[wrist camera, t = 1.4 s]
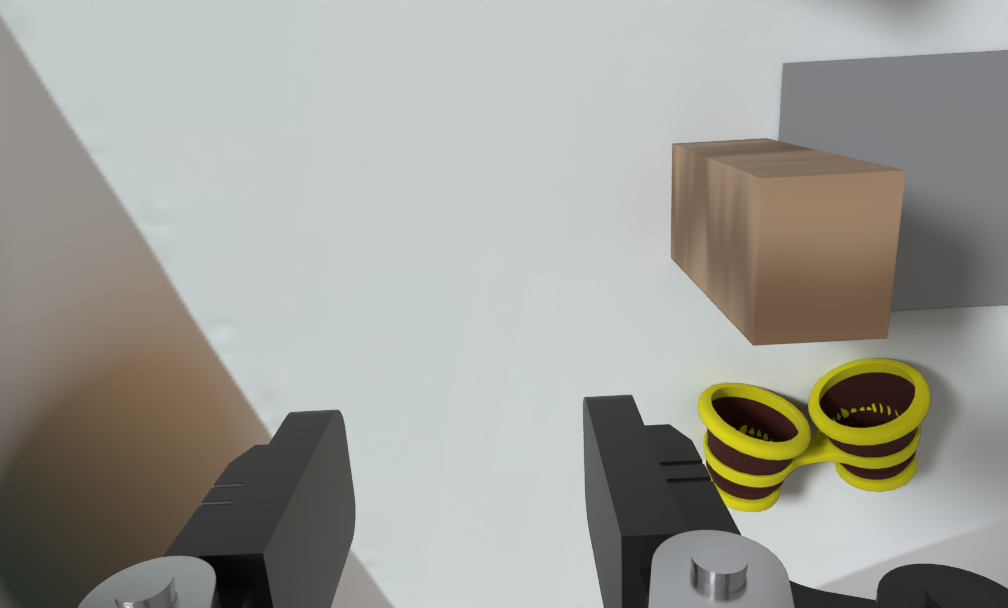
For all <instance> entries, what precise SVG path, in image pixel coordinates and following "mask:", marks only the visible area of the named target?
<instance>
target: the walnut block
mask: <svg viewBox="0 0 1008 608" xmlns="http://www.w3.org/2000/svg"><path fill="white" fill-rule="evenodd" d="M905 174H906V170H902V169H898V168H894V167H889V166H885V165H881V164H876V163H872V162H867V161H863V160H859V159H854V158H850V157H846V156H841V155H837V154H833V153H828V152H824V151H819V150H815V149H811V148H806V147H802V146H798V145H793V144H789V143H785V142H780V141H776V140H771V139H767V138H765V139H747V140H730V141H712V142H695V143H677V144H672V208H671V258H672V259H673V261H674V262H675V263H676V264H677V265H678V266H679V267H680V268H681V269H682V270H683V271H684V272H685V273H686V274H687V275H688V277H689V278H690V279H691V280H692V281H693V282H694V283H695V284H696V285H697V286H698V287H699V288H700V289H701V290H702V291H703V293H704V294H705V295H706V296H707V297H708V298H709V299H710V300H711V301H712V302H713V303H714V304H715V305H716V306H717V307H718V309H719V310H720V311H721V312H722V313H723V314H724V315H725V316H726V317H727V318H728V319H729V320H730V321H731V322H732V324H733V325H734V326H735V327H736V328H737V329H738V330H739V331H740V332H741V333H742V334H743V335H744V336H745V337H746V338H747V340H748V341H749V342H750V343H751V344H752V345H772V344H791V343H809V342H828V341H847V340H866V339H885V338H887V333H888V325H889V316H890V307H891V298H892V289H893V280H894V272H895V263H896V254H897V245H898V236H899V227H900V219H901V210H902V201H903V192H904V183H905Z"/></svg>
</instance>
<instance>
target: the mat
mask: <svg viewBox="0 0 1008 608" xmlns="http://www.w3.org/2000/svg"><path fill="white" fill-rule="evenodd" d="M779 141H780V142H785V143H789V144H793V145H798V146H802V147H806V148H811V149H815V150H819V151H824V152H828V153H833V154H837V155H841V156H846V157H850V158H854V159H859V160H863V161H867V162H872V163H876V164H881V165H885V166H889V167H894V168H898V169H902V170H906V174H905V183H904V192H903V201H902V210H901V219H900V227H899V236H898V245H897V254H896V263H895V272H894V280H893V289H892V298H891V307H890V311H896V310H915V309H933V308H952V307H971V306H989V305H1008V50H1003V51H986V52H969V53H952V54H935V55H918V56H901V57H884V58H867V59H850V60H833V61H816V62H799V63H783V73H782V90H781V107H780V124H779Z"/></svg>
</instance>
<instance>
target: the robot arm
mask: <svg viewBox="0 0 1008 608" xmlns="http://www.w3.org/2000/svg"><path fill="white" fill-rule="evenodd" d="M583 430H584V470H585V498H586V510H587V520H588V527H589V533H590V538H591V543H592V548H593V553H594V559H595V564H596V569H597V574H598V580H599V585H600V590H601V595H602V600H603V606H604V608H1008V589H1007V588H1005V587H1004V586H1002V585H1000V584H998V583H997V582H994V581H992V580H990V579H988V578H986V577H983V576H981V575H978V574H975V573H973V572H970V571H966V570H963V569H959V568H955V567H950V566H945V565H937V564H912V565H905V566H901V567H898V568H896V569H894V570H891V571H889V572H888V573H887V574H886V575H884V576H883V578H882V579H881V580H880V582H879V585H878V589H877V596H876V600H871V599H866V598H860V597H854V596H848V595H842V594H837V593H831V592H825V591H821V590H816V589H812V588H809V587H806V586H803V585H800V584H797V583H795V582H792V581H790V580H789V577H788V574H787V571H786V569H785V567H784V565H783V564H782V562H781V561H780V560H779V559H778V558H777V556H776V555H775V554H773V553H772V552H771V551H770V550H769V549H767V548H766V547H764V546H763V545H761V544H759V543H757V542H755V541H753V540H751V539H749V538H746V537H744V536H741V534H740V532H739V530H738V528H737V526H736V524H735V522H734V520H733V518H732V516H731V515H730V513H729V511H728V509H727V507H726V505H725V503H724V501H723V499H722V497H721V495H720V493H719V492H718V490H717V488H716V486H715V484H714V482H713V481H711V476H710V474H709V472H708V470H707V469H706V467H705V465H704V464H702V459H701V457H700V455H699V453H698V451H697V449H696V447H695V446H694V444H693V442H692V440H691V439H689V438H688V437H686V436H685V435H683V434H682V433H681V432H679V431H678V430H676V429H675V428H674V427H672V426H671V425H669V424H666V425H646V426H645V425H644V423H643V421H642V418H641V416H640V413H639V411H638V408H637V406H636V403H635V401H634V399H633V396H632V395H617V396H598V397H584V400H583ZM354 529H355V496H354V489H353V482H352V474H351V467H350V460H349V453H348V445H347V438H346V431H345V424H344V420H343V416H342V414H341V412H340V411H339V410H322V411H303V412H290V413H289V414H288V415H287V417H286V418H285V420H284V421H283V423H282V424H281V426H280V427H279V429H278V431H277V432H276V434H275V435H274V437H273V438H272V440H271V442H270V443H269V445H255V446H253V447H252V448H250V449H249V450H248V451H246V452H245V453H243V454H242V455H241V456H239V457H238V458H236V459H235V460H234V461H232V462H231V463H229V465H228V466H227V467H226V469H225V470H224V471H223V473H222V474H221V476H220V477H219V479H218V480H217V481H216V483H215V484H214V488H212V489H211V490H210V491H209V493H208V494H207V495H206V497H205V498H204V500H203V501H202V506H199V507H198V508H197V510H196V511H195V512H194V514H193V515H192V517H191V518H190V519H189V521H188V522H187V524H186V525H185V526H184V528H183V529H182V531H181V532H180V533H179V535H178V536H177V538H176V539H175V541H174V542H173V543H172V545H171V546H170V548H169V549H168V550H167V552H166V553H165V555H164V556H163V557H162V558H157V559H153V560H149V561H146V562H142V563H139V564H136V565H134V566H132V567H129V568H127V569H125V570H123V571H121V572H119V573H117V574H115V575H113V576H112V577H110V578H109V579H107V580H105V581H104V582H103V583H101V584H100V585H99V586H97V587H96V588H95V589H94V590H93V591H92V592H91V593H90V594H88V595H87V596H86V598H85V599H84V600H83V601H82V602H81V604H80V605H79V607H78V608H331V605H332V602H333V599H334V596H335V592H336V589H337V586H338V583H339V580H340V577H341V574H342V571H343V568H344V565H345V562H346V558H347V555H348V552H349V549H350V546H351V543H352V540H353V535H354Z"/></svg>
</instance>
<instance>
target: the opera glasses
mask: <svg viewBox="0 0 1008 608" xmlns="http://www.w3.org/2000/svg"><path fill="white" fill-rule="evenodd" d="M841 380H842V381H841ZM829 388H830V389H829ZM930 395H931V393H930V389H929V386H928V384H927V381H926V379H925V378H924V377H923V376H922V375H921V373H920V372H919V371H917V370H916V369H915V368H913V367H912V366H910V365H908V364H906V363H903V362H901V361H896V360H892V359H884V358H870V359H862V360H857V361H853V362H849V363H846V364H844V365H841V366H839V367H837V368H835V369H833V370H831V371H830V372H828V373H827V374H825V375H824V376H823V377H822V378H820V380H819V381H818V382H817V383H816V384H815V386H814V387H813V389H812V390H811V393H810V396H809V399H808V409H809V414H810V417H811V419H812V421H813V422H814V424H815V425H816V426H817V427H818V429H819V430H818V431H817V433H816V434H815V435H814V436H812V437H811V432H810V426H809V424H808V421H807V420H806V418H805V417H804V415H803V413H802V412H800V411H799V410H798V409H797V408H796V407H795V406H794V405H793V404H791V403H790V402H788V401H787V400H785V399H784V398H782V397H780V396H778V395H776V394H774V393H772V392H770V391H768V390H765V389H762V388H759V387H755V386H752V385H747V384H741V383H721V384H716V385H712V386H710V387H709V388H707V389H705V390H704V392H703V393H702V394H701V395H700V397H699V401H698V412H699V415H700V417H701V419H702V421H703V423H704V424H705V425H706V427H707V431H706V433H705V435H704V451H705V457H706V465H707V466H706V469H707V470H708V472H709V474H710V476H711V481H713V482H714V484H715V486H716V488H717V490H718V492H719V493H720V495H721V497H722V499H723V501H724V503H725V505H726V506H727V507H729V508H732V509H735V510H739V511H745V512H760V511H764V510H767V509H769V508H771V507H772V506H773V505H774V504H775V503H776V502H777V500H778V498H779V494H780V489H781V485H782V483H783V481H784V479H785V478H786V477H787V476H788V474H789V473H790V472H792V471H793V470H794V469H796V468H798V467H799V466H802V465H805V464H811V463H817V462H826V461H830V462H834V464H835V467H836V470H837V472H838V473H839V475H840V477H841V478H842V479H844V480H845V481H846V482H847V483H848V484H850V485H852V486H854V487H856V488H859V489H862V490H866V491H875V492H884V491H889V490H895V489H897V488H899V487H901V486H903V485H906V484H907V483H908V482H909V481H910V480H911V479H912V478H913V477H914V475H915V472H916V469H917V459H916V454H915V452H916V448H917V446H918V442H919V437H920V423H921V422H922V421H923V419H924V418H925V416H926V414H927V412H928V409H929V406H930ZM712 400H713V401H712ZM852 423H853V424H852Z"/></svg>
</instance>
